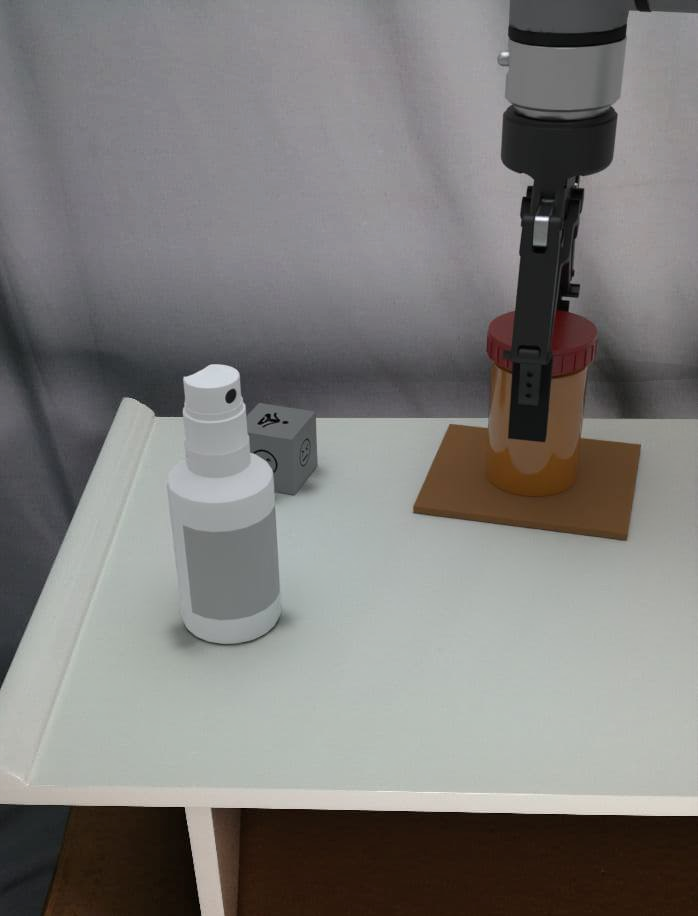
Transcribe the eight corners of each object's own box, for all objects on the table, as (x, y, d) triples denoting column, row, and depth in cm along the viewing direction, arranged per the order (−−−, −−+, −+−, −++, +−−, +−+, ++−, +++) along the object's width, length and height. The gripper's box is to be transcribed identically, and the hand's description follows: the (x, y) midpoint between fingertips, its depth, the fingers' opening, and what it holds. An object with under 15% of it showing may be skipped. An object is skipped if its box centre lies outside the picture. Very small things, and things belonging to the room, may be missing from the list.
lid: (484, 373, 85) (485, 349, 84) (488, 329, 92) (489, 306, 91) (597, 377, 84) (600, 353, 83) (593, 332, 91) (595, 309, 90)
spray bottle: (230, 659, 76) (208, 412, 67) (161, 618, 81) (131, 379, 71) (302, 612, 80) (291, 372, 71) (233, 575, 85) (214, 343, 75)
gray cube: (262, 456, 99) (259, 402, 96) (317, 465, 97) (315, 411, 95) (237, 484, 95) (233, 430, 93) (294, 495, 94) (291, 439, 91)
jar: (581, 457, 96) (596, 323, 89) (571, 501, 90) (585, 362, 83) (493, 447, 98) (501, 315, 91) (477, 490, 92) (484, 353, 85)
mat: (640, 450, 97) (641, 444, 97) (626, 540, 86) (627, 533, 86) (449, 429, 102) (449, 423, 101) (413, 512, 91) (413, 506, 90)
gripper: (527, 68, 88) (509, 343, 100) (475, 148, 70) (461, 471, 82) (630, 70, 86) (599, 351, 98) (603, 153, 68) (570, 484, 80)
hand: (536, 406), depth 90 cm, fingers open, 10 cm apart
